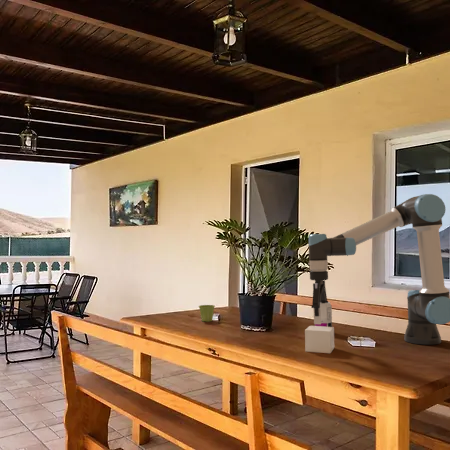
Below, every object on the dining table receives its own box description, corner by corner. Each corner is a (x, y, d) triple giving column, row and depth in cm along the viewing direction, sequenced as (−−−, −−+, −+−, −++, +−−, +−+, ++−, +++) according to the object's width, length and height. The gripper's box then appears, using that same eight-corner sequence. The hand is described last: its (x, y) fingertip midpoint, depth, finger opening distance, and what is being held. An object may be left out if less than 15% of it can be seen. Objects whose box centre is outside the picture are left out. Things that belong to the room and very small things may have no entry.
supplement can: (319, 335, 226) (319, 303, 227) (312, 331, 234) (311, 301, 235) (335, 334, 228) (334, 303, 229) (327, 330, 236) (326, 301, 237)
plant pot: (196, 320, 271) (196, 305, 272) (211, 319, 275) (211, 304, 276) (202, 322, 263) (202, 307, 263) (217, 321, 267) (217, 306, 267)
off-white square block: (334, 347, 199) (333, 327, 199) (330, 353, 189) (329, 331, 190) (310, 346, 203) (310, 325, 203) (305, 351, 193) (304, 329, 194)
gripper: (315, 268, 210) (317, 316, 209) (303, 272, 187) (305, 326, 186) (332, 268, 207) (334, 316, 207) (322, 272, 184) (324, 326, 183)
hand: (320, 321), depth 196 cm, fingers open, 13 cm apart
